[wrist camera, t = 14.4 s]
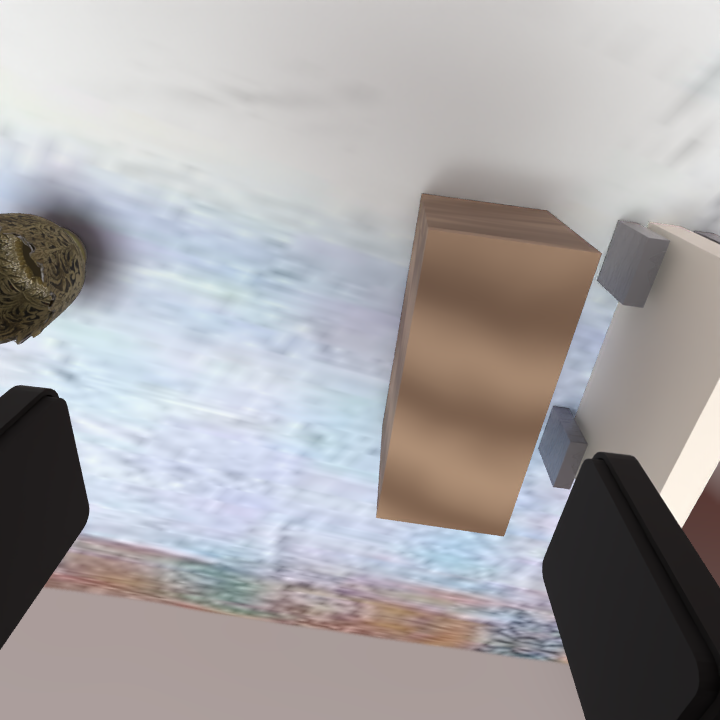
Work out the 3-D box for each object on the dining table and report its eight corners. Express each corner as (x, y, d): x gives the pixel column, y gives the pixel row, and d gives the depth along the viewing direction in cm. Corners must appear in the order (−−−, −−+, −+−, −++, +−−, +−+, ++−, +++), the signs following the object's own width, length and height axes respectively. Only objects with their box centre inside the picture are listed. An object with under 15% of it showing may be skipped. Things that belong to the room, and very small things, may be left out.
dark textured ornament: (139, 261, 36) (74, 301, 29) (75, 317, 38) (0, 367, 31) (55, 171, 33) (-39, 191, 26) (-8, 237, 36) (-109, 271, 29)
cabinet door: (648, 221, 32) (768, 282, 22) (692, 227, 32) (835, 292, 21) (561, 449, 40) (618, 574, 30) (597, 454, 40) (665, 581, 30)
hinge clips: (618, 220, 32) (648, 237, 28) (713, 233, 32) (757, 252, 28) (538, 448, 40) (553, 486, 36) (613, 459, 40) (636, 499, 36)
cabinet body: (421, 193, 32) (428, 229, 23) (547, 210, 32) (601, 253, 23) (382, 426, 41) (376, 517, 32) (482, 440, 41) (504, 536, 32)
